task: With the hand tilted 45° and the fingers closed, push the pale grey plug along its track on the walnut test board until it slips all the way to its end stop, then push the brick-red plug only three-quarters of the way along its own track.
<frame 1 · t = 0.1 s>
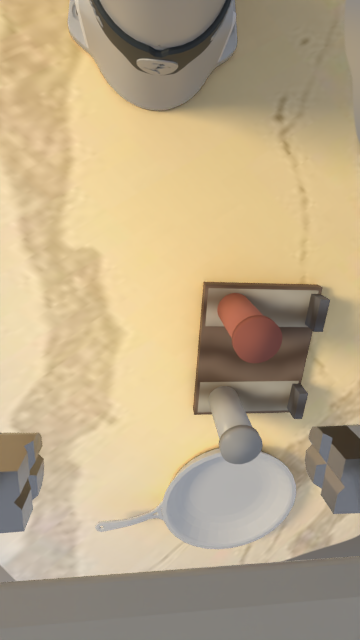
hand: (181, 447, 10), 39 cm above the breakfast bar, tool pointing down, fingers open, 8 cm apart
grey plug: (231, 420, 49), point 8 cm above the breakfast bar, slide at 0.0 cm
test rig: (251, 350, 54), on the breakfast bar
pan: (195, 491, 65), on the breakfast bar
red plug: (244, 323, 43), point 8 cm above the breakfast bar, slide at 0.0 cm
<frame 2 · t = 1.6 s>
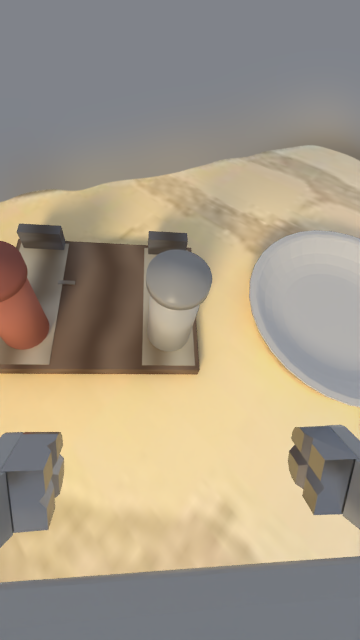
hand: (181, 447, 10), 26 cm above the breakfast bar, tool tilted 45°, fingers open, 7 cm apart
grey plug: (173, 307, 33), point 8 cm above the breakfast bar, slide at 0.0 cm
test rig: (103, 305, 41), on the breakfast bar
pan: (351, 361, 42), on the breakfast bar
red plug: (8, 302, 31), point 8 cm above the breakfast bar, slide at 0.0 cm
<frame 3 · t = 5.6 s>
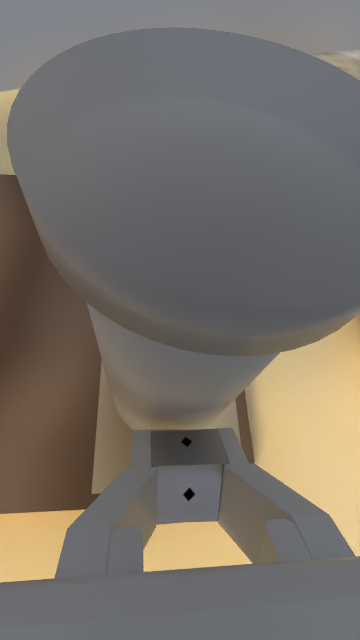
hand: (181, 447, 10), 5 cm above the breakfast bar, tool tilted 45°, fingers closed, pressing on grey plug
grey plug: (184, 320, 9), point 8 cm above the breakfast bar, slide at 0.2 cm, touching gripper
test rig: (11, 315, 17), on the breakfast bar
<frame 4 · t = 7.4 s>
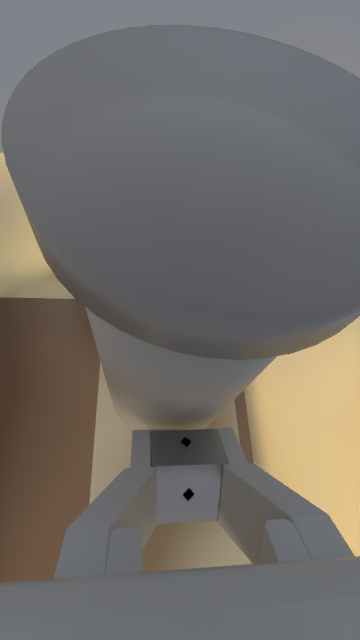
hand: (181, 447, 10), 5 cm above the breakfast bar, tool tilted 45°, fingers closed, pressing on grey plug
grey plug: (183, 321, 9), point 8 cm above the breakfast bar, slide at 9.1 cm, touching gripper
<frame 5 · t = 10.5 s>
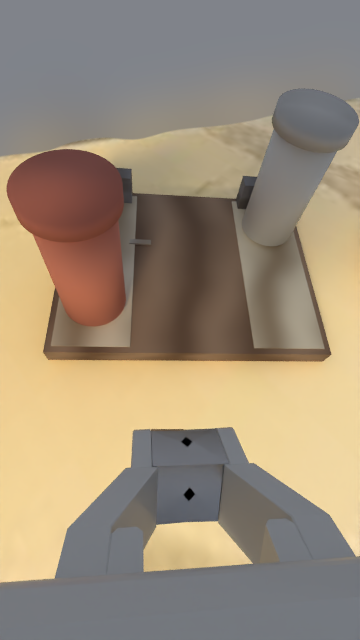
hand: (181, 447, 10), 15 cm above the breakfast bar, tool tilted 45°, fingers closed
grey plug: (287, 179, 28), point 8 cm above the breakfast bar, slide at 9.0 cm
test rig: (186, 273, 31), on the breakfast bar
red plug: (83, 254, 22), point 8 cm above the breakfast bar, slide at 0.0 cm
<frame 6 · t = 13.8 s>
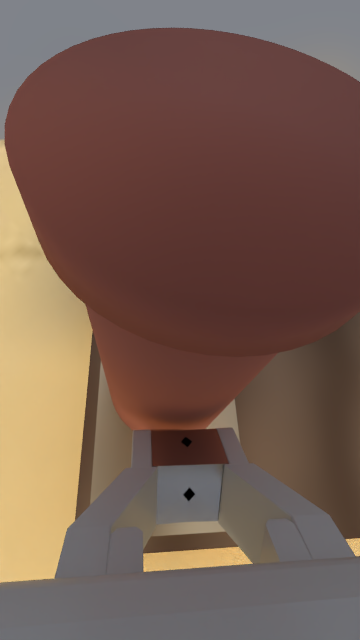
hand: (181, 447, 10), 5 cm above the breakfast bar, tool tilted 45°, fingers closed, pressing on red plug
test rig: (305, 342, 18), on the breakfast bar
red plug: (183, 320, 9), point 8 cm above the breakfast bar, slide at 1.7 cm, touching gripper
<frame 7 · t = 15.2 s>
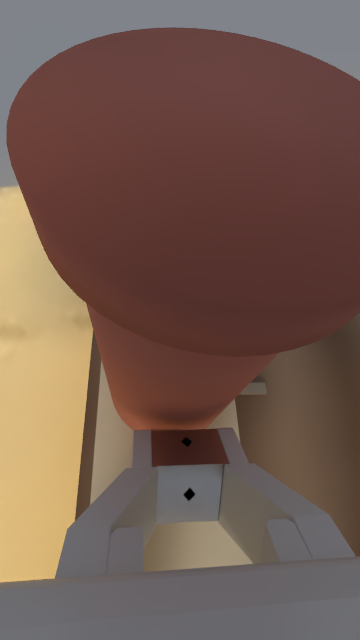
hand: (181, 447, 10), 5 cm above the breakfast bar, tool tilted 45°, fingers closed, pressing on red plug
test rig: (331, 443, 16), on the breakfast bar
red plug: (184, 320, 9), point 8 cm above the breakfast bar, slide at 7.0 cm, touching gripper
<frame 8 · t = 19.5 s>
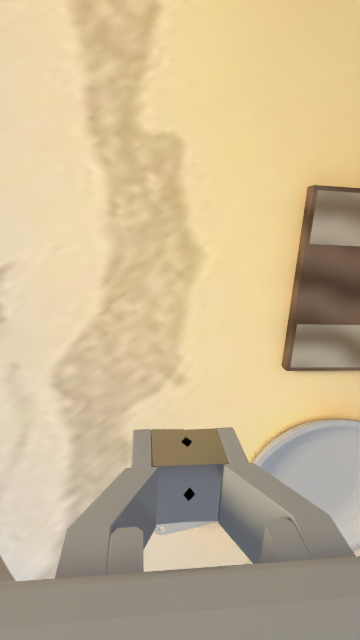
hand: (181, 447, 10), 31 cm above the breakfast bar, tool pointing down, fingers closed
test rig: (359, 285, 43), on the breakfast bar
pan: (274, 484, 51), on the breakfast bar
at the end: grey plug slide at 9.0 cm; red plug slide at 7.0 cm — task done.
